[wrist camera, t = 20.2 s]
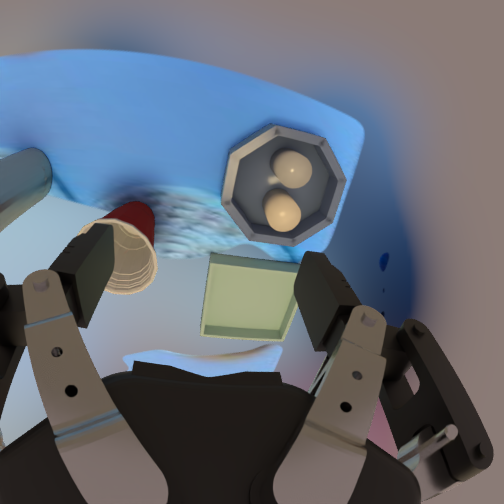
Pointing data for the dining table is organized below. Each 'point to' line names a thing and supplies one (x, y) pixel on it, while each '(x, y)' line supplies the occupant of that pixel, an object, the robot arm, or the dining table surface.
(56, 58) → the dining table surface
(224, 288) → the tray
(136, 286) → the plastic cup
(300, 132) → the bowl
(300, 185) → the beige rounded piece
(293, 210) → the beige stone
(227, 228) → the dining table surface
